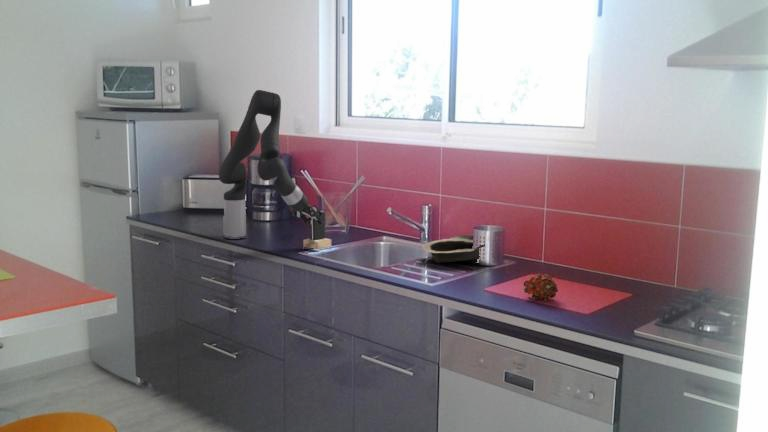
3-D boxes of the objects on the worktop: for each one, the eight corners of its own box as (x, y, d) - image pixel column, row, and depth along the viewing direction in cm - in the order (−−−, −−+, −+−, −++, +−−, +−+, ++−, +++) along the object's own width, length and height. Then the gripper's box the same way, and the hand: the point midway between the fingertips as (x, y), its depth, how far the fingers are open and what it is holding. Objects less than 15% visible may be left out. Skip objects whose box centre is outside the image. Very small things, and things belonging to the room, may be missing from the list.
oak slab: (303, 249, 292) (303, 239, 292) (316, 246, 299) (316, 236, 298) (318, 251, 288) (318, 241, 287) (331, 248, 294) (331, 238, 293)
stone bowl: (500, 260, 274) (500, 237, 272) (464, 277, 255) (463, 252, 253) (446, 250, 289) (446, 228, 287) (408, 265, 270) (408, 242, 268)
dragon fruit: (555, 309, 215) (524, 306, 225) (568, 289, 219) (538, 286, 229) (542, 289, 212) (512, 286, 221) (556, 269, 216) (526, 267, 225)
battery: (319, 237, 296) (318, 209, 295) (325, 238, 294) (325, 210, 292) (307, 239, 291) (306, 211, 289) (313, 240, 289) (313, 212, 287)
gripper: (312, 190, 276) (331, 216, 287) (285, 188, 285) (305, 213, 296) (302, 206, 273) (323, 231, 284) (276, 202, 281) (296, 227, 292)
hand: (314, 222), depth 290 cm, fingers open, 8 cm apart
